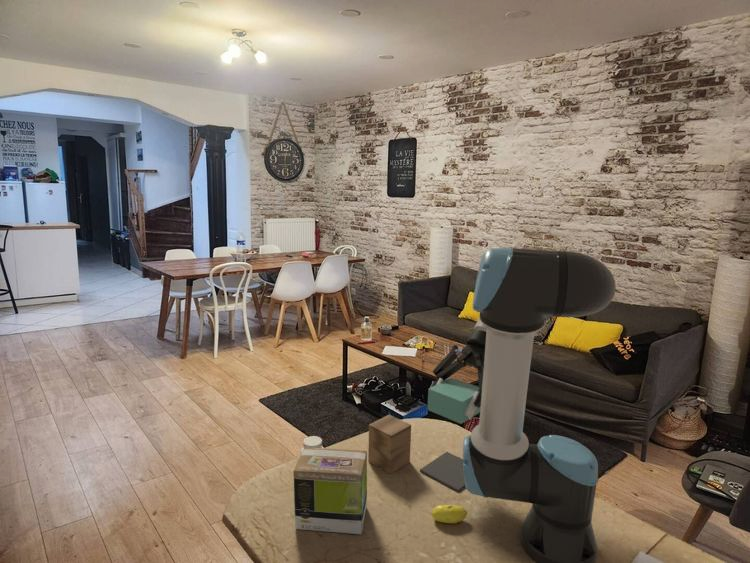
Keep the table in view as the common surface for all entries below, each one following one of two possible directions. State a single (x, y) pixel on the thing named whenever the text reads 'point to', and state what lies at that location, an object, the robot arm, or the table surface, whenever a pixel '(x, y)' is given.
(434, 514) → the yellow oblong rounded piece
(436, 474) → the rubber mat
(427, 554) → the table surface
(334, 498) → the tea box
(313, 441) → the pill bottle
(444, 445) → the table surface
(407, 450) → the walnut box
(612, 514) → the table surface
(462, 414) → the teal square block
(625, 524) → the table surface
